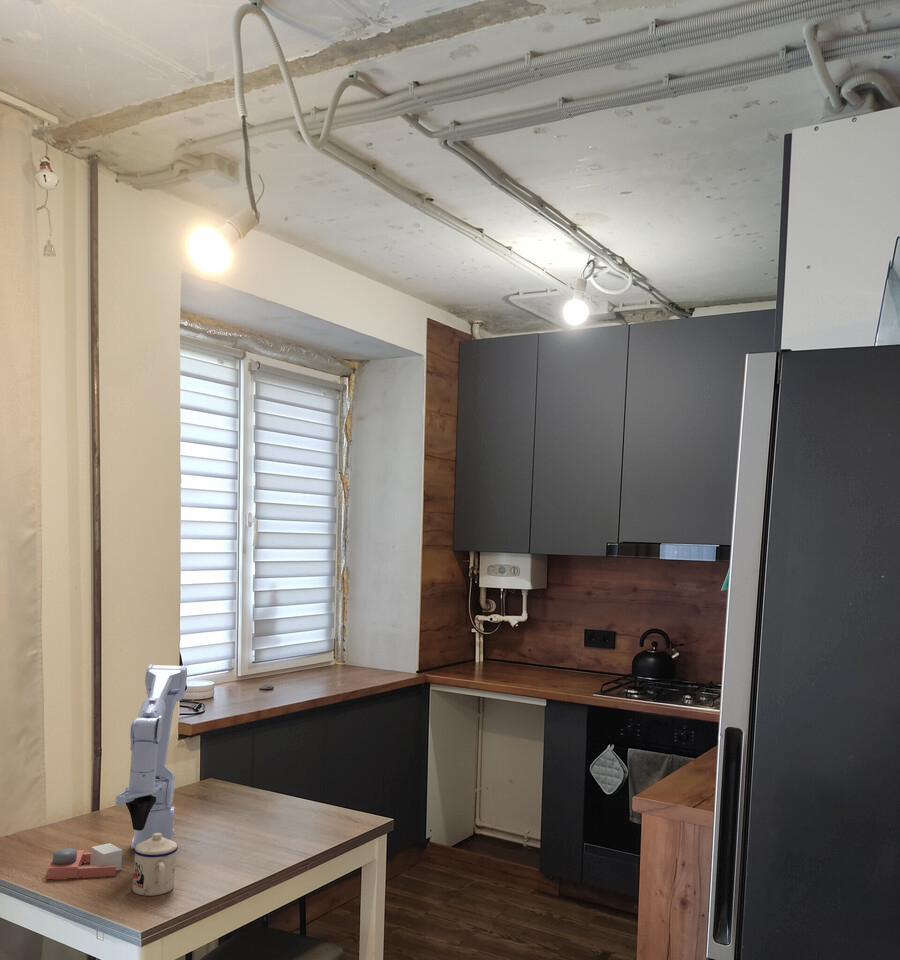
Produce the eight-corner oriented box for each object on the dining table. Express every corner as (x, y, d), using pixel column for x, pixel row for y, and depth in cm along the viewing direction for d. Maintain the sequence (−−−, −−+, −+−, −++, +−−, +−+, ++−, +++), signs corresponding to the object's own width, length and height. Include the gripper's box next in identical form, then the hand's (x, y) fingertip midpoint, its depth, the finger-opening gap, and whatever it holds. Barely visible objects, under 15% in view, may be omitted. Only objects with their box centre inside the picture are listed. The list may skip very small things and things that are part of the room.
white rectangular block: (108, 862, 204) (110, 843, 204) (120, 870, 200) (122, 849, 200) (89, 867, 200) (91, 847, 201) (101, 874, 196) (103, 854, 197)
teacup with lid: (127, 884, 191) (131, 829, 192) (169, 878, 196) (173, 825, 197) (137, 904, 181) (142, 847, 182) (182, 898, 185) (186, 842, 186)
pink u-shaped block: (119, 859, 206) (121, 839, 206) (114, 876, 195) (116, 856, 195) (55, 862, 202) (57, 842, 202) (47, 879, 191) (49, 858, 192)
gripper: (150, 761, 211) (146, 818, 210) (107, 774, 198) (102, 835, 197) (174, 765, 209) (169, 823, 208) (131, 778, 195) (126, 840, 194)
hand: (138, 829), depth 202 cm, fingers closed
